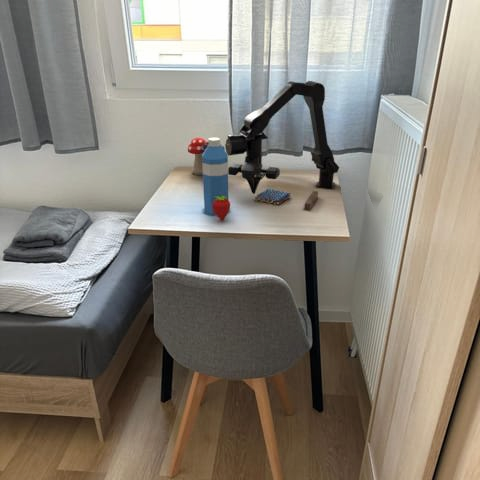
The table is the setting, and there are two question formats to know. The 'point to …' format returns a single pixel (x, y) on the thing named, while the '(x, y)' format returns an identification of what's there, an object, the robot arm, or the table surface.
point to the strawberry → (221, 207)
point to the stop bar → (311, 200)
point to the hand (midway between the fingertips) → (253, 193)
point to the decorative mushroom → (197, 154)
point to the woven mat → (273, 196)
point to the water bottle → (214, 173)
